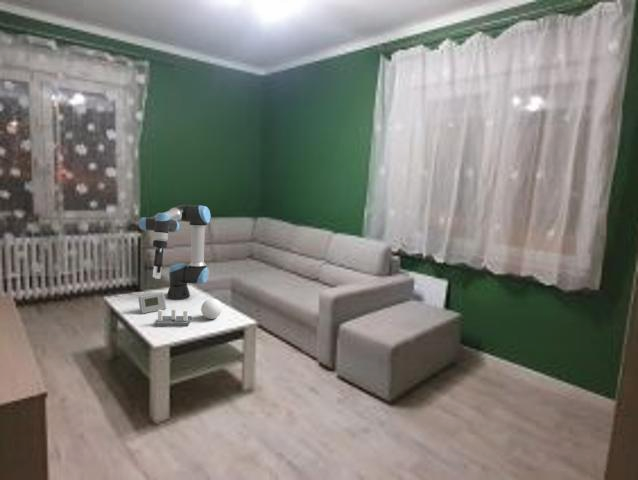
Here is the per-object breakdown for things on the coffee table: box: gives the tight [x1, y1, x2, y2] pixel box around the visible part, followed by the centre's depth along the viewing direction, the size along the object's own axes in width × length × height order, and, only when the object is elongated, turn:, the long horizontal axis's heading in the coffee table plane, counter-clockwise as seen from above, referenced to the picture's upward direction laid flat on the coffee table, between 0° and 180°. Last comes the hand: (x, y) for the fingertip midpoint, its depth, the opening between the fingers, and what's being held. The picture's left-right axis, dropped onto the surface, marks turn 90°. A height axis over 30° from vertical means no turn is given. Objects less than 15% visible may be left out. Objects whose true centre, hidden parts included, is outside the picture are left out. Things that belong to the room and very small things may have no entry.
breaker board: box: [154, 315, 192, 328], centre depth 243 cm, size 12×18×2 cm, turn 98°
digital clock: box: [138, 291, 167, 315], centre depth 261 cm, size 16×9×11 cm, turn 123°
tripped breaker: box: [171, 308, 177, 320], centre depth 242 cm, size 2×2×6 cm
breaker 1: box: [157, 310, 164, 321], centre depth 239 cm, size 2×2×6 cm
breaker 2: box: [182, 309, 189, 321], centre depth 241 cm, size 2×2×6 cm
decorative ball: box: [200, 298, 223, 320], centre depth 252 cm, size 12×12×12 cm
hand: (156, 278), depth 233 cm, fingers open, 13 cm apart
